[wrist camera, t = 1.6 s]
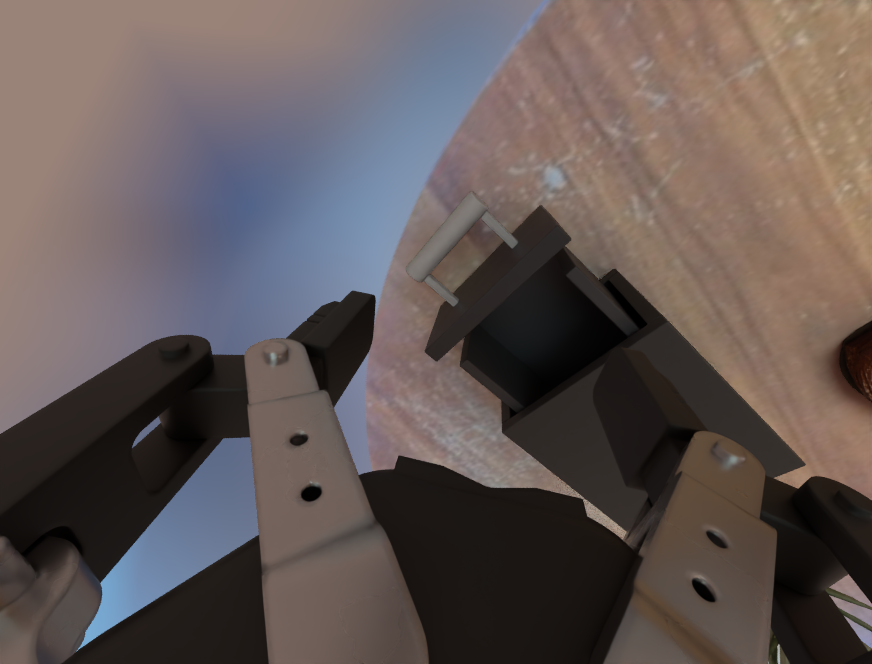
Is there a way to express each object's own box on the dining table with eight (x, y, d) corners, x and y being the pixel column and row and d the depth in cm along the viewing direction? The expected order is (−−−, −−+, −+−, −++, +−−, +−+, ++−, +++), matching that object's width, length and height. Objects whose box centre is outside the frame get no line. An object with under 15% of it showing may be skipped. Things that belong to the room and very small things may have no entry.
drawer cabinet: (499, 359, 33) (501, 432, 25) (614, 267, 27) (668, 321, 19) (598, 443, 36) (629, 534, 28) (719, 376, 30) (807, 465, 22)
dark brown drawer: (400, 272, 29) (371, 309, 22) (496, 159, 24) (496, 162, 17) (543, 395, 33) (556, 459, 26) (653, 319, 28) (705, 375, 21)
